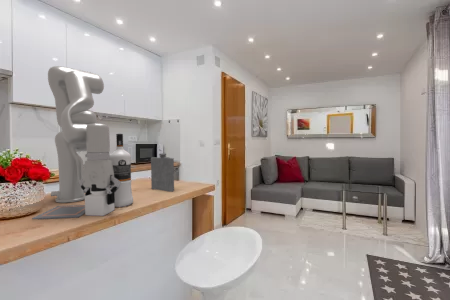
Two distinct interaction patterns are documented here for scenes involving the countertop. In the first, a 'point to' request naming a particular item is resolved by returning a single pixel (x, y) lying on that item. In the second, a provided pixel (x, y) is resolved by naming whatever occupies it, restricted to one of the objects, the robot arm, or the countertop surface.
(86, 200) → the medicine bottle
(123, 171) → the vodka
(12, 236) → the countertop surface
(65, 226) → the countertop surface
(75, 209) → the card
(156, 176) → the hip flask
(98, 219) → the countertop surface
